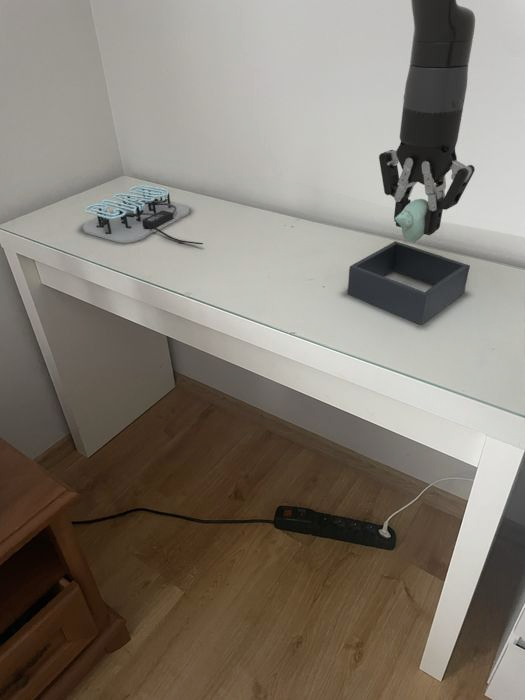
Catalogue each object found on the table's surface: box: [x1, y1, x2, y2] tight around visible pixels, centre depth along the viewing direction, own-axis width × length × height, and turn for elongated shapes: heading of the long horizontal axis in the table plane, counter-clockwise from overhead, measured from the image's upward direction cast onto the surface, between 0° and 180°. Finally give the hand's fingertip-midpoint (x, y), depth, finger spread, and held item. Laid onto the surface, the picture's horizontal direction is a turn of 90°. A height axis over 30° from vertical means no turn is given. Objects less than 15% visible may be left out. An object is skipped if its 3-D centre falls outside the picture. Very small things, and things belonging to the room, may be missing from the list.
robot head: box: [393, 198, 429, 244], centre depth 77 cm, size 8×4×7 cm, turn 135°
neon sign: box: [82, 184, 204, 245], centre depth 109 cm, size 21×4×29 cm
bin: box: [347, 240, 471, 326], centre depth 83 cm, size 14×13×5 cm
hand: (415, 228), depth 78 cm, fingers closed on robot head, 4 cm apart
